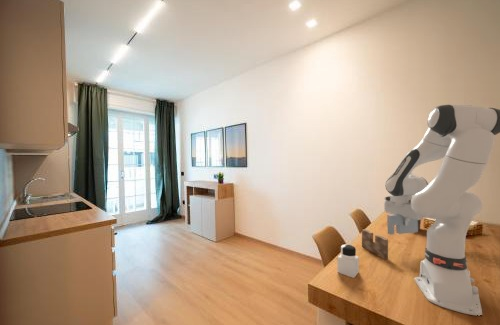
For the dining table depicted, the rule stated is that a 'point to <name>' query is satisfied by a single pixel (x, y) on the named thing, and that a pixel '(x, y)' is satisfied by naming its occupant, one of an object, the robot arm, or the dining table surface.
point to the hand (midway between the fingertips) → (402, 224)
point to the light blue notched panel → (401, 224)
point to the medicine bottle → (348, 261)
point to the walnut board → (375, 244)
